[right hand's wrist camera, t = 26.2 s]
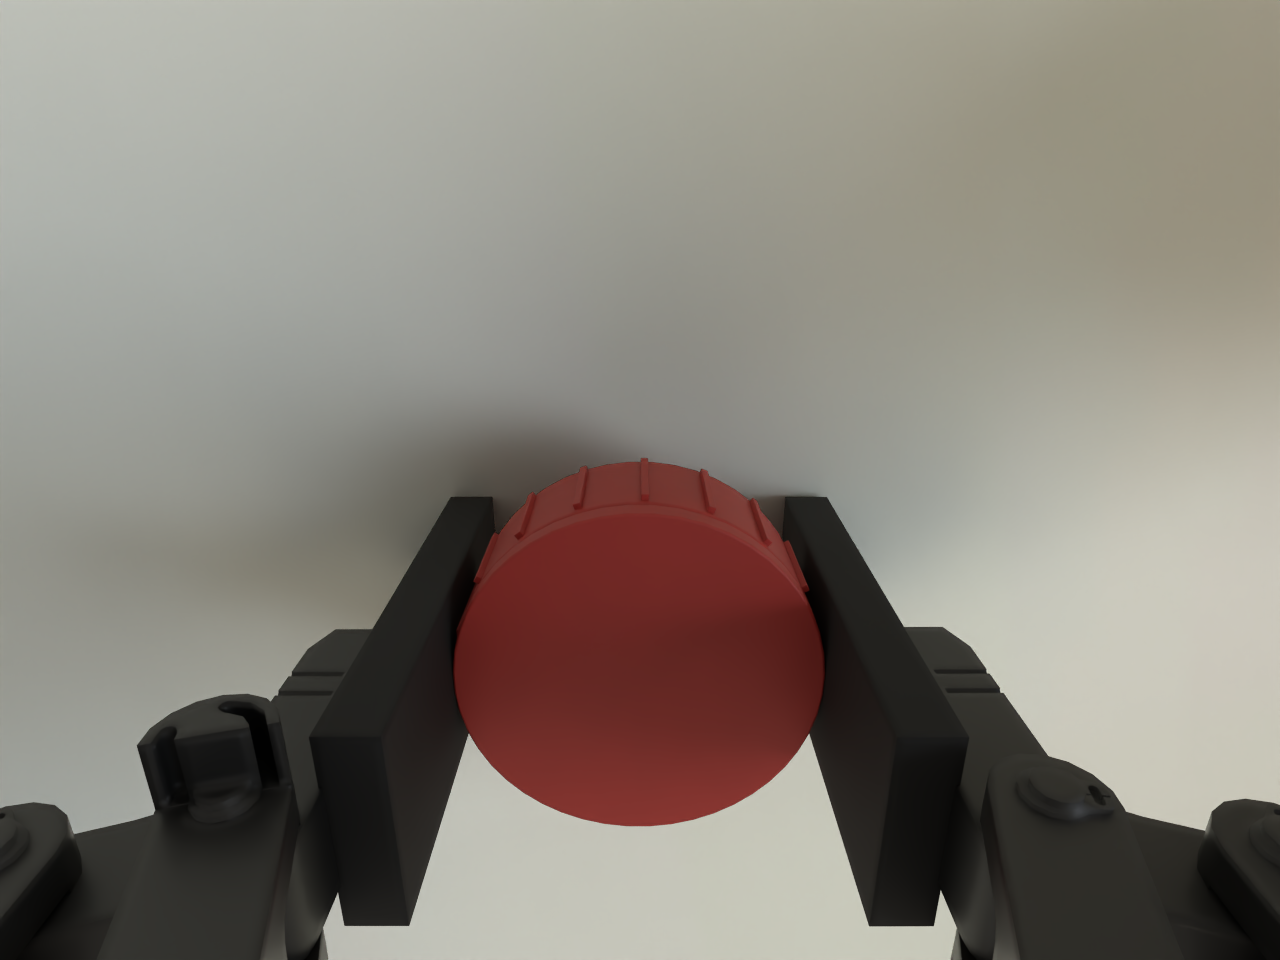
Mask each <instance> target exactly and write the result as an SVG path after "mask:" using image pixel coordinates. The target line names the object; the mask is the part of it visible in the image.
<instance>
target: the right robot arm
mask: <svg viewBox="0 0 1280 960" xmlns="http://www.w3.org/2000/svg"><path fill="white" fill-rule="evenodd" d="M494 533H495V527H494V514H493V501H492V497H451V498H450V500H449V501H448V503H447V505H446V506H445V508H444V510H443V511H442V513H441V515H440V516H439V518H438V520H437V522H436V523H435V525H434V527H433V528H432V530H431V532H430V533H429V535H428V537H427V538H426V540H425V542H424V543H423V545H422V547H421V548H420V550H419V552H418V554H417V555H416V557H415V559H414V560H413V562H412V564H411V565H410V567H409V569H408V570H407V572H406V574H405V575H404V577H403V579H402V581H401V582H400V584H399V586H398V587H397V589H396V591H395V592H394V594H393V596H392V597H391V599H390V601H389V602H388V604H387V606H386V607H385V609H384V611H383V613H382V614H381V616H380V618H379V619H378V621H377V623H376V624H375V626H374V628H373V629H336V630H334V631H333V632H331V633H330V634H329V635H327V636H326V637H324V638H323V639H322V640H320V641H319V642H317V643H316V644H314V645H313V646H312V647H310V648H309V649H308V650H307V651H306V653H305V654H304V655H303V657H302V658H301V660H300V661H299V663H298V664H297V665H296V667H295V668H294V670H293V671H292V676H289V677H288V678H287V680H286V681H285V682H284V684H283V685H282V687H281V688H280V689H279V694H278V696H275V697H274V698H273V699H272V701H271V702H270V701H269V700H268V699H267V698H263V697H259V696H254V695H250V694H235V695H222V696H218V697H214V698H210V699H206V700H202V701H198V702H195V703H193V704H191V705H189V706H186V707H184V708H182V709H180V710H177V711H175V712H173V713H171V714H170V715H168V716H167V717H165V718H164V719H163V720H161V721H160V722H158V723H157V724H156V725H154V726H153V727H152V728H150V729H149V731H148V732H147V733H146V734H145V736H144V737H143V738H142V740H141V741H140V742H139V744H138V745H137V748H138V751H139V755H140V758H141V762H142V765H143V769H144V772H145V776H146V779H147V782H148V786H149V789H150V793H151V796H152V800H153V803H154V807H155V813H154V815H151V816H148V817H144V818H141V819H138V820H134V821H130V822H125V823H121V824H117V825H112V826H108V827H104V828H99V829H95V830H91V831H86V832H82V833H78V834H73V831H72V828H71V825H70V822H69V820H68V817H67V815H66V814H65V813H64V812H62V811H61V810H60V809H59V808H58V807H56V806H55V805H49V804H42V803H34V802H33V803H26V804H20V805H13V806H6V807H3V808H0V960H328V954H327V948H326V941H325V936H324V931H323V926H324V924H325V921H326V919H327V917H328V914H329V912H330V910H331V907H332V905H333V903H334V900H335V898H336V895H337V893H338V894H339V899H340V905H341V910H342V915H343V920H344V926H409V925H410V921H411V918H412V915H413V912H414V908H415V905H416V902H417V899H418V895H419V892H420V889H421V886H422V882H423V879H424V876H425V873H426V869H427V866H428V863H429V860H430V857H431V853H432V850H433V847H434V844H435V840H436V837H437V834H438V831H439V827H440V824H441V821H442V818H443V814H444V811H445V808H446V805H447V801H448V798H449V795H450V792H451V789H452V785H453V782H454V779H455V776H456V772H457V769H458V766H459V763H460V759H461V756H462V753H463V750H464V746H465V743H466V740H467V737H468V733H469V732H468V730H467V728H466V725H465V723H464V721H463V718H462V716H461V713H460V710H459V707H458V703H457V699H456V695H455V689H454V678H453V660H454V649H455V644H456V640H457V627H458V625H459V622H460V620H461V618H462V615H463V613H464V610H465V608H466V605H467V603H468V600H469V598H470V595H471V593H472V590H473V588H474V586H475V582H474V579H475V576H476V574H477V571H478V569H479V566H480V564H481V562H482V559H483V557H484V554H485V552H486V549H487V547H488V544H489V542H490V540H491V537H492V535H493V534H494ZM782 540H783V542H785V541H789V542H790V544H791V547H792V549H793V551H794V554H795V556H796V559H797V561H798V563H799V566H800V568H801V571H802V573H803V576H804V578H805V580H806V583H807V585H808V588H809V591H807V592H805V594H806V597H807V599H808V602H809V604H810V607H811V609H812V612H813V615H814V617H815V620H816V623H817V625H818V628H819V631H820V634H821V639H822V644H823V649H824V657H825V680H824V689H823V695H822V699H821V703H820V706H819V710H818V714H817V716H816V719H815V721H814V723H813V725H812V728H811V730H810V732H809V734H810V737H811V740H812V743H813V747H814V750H815V753H816V756H817V760H818V763H819V766H820V769H821V772H822V776H823V779H824V782H825V785H826V789H827V792H828V795H829V798H830V801H831V805H832V808H833V811H834V814H835V818H836V821H837V824H838V827H839V830H840V834H841V837H842V840H843V843H844V847H845V850H846V853H847V856H848V859H849V863H850V866H851V869H852V872H853V876H854V879H855V882H856V885H857V889H858V892H859V895H860V898H861V901H862V905H863V908H864V911H865V914H866V918H867V921H868V924H869V926H934V922H935V917H936V911H937V906H938V901H939V896H940V890H941V891H942V894H943V896H944V898H945V901H946V903H947V905H948V908H949V910H950V912H951V915H952V917H953V919H954V922H955V924H956V926H957V931H956V936H955V941H954V946H953V950H952V955H951V960H1280V805H1278V804H1275V803H1270V802H1264V801H1257V800H1250V799H1240V800H1233V801H1226V802H1223V803H1222V804H1221V805H1219V806H1218V807H1217V808H1216V809H1215V810H1213V811H1212V813H1211V816H1210V819H1209V822H1208V825H1207V827H1206V830H1205V831H1203V830H1199V829H1194V828H1190V827H1185V826H1181V825H1177V824H1172V823H1168V822H1163V821H1159V820H1155V819H1150V818H1146V817H1142V816H1139V815H1135V814H1132V813H1128V812H1126V811H1125V809H1124V807H1123V806H1122V804H1121V803H1120V801H1119V800H1118V798H1117V797H1116V795H1115V794H1114V792H1113V791H1112V790H1111V789H1110V788H1108V787H1107V786H1106V785H1105V784H1104V783H1102V782H1101V781H1100V780H1099V779H1098V778H1096V777H1095V776H1094V775H1093V774H1091V773H1089V772H1087V771H1085V770H1083V769H1081V768H1079V767H1077V766H1075V765H1073V764H1071V763H1069V762H1066V761H1063V760H1059V759H1056V758H1052V757H1049V756H1048V755H1047V754H1046V752H1045V751H1044V749H1043V748H1042V747H1041V745H1040V744H1039V742H1038V741H1037V740H1036V738H1035V737H1034V735H1033V734H1032V733H1031V731H1030V730H1029V728H1028V727H1027V726H1026V724H1025V723H1024V721H1023V720H1022V719H1021V717H1020V716H1019V714H1018V713H1017V712H1016V710H1015V709H1014V707H1013V706H1012V705H1011V703H1010V702H1009V700H1008V699H1007V698H1006V696H1005V695H1004V693H1000V688H999V686H998V685H997V683H996V682H995V681H994V679H993V678H992V676H991V675H990V674H987V672H986V668H985V667H984V665H983V664H982V662H981V661H980V660H979V658H978V657H977V655H976V654H975V653H974V651H973V650H972V648H971V647H970V646H969V645H967V644H966V643H964V642H963V641H962V640H960V639H959V638H957V637H956V636H954V635H953V634H952V633H950V632H949V631H947V630H946V629H945V628H943V627H904V626H903V625H902V623H901V621H900V620H899V618H898V616H897V615H896V613H895V611H894V610H893V608H892V606H891V605H890V603H889V601H888V599H887V598H886V596H885V594H884V593H883V591H882V589H881V588H880V586H879V584H878V583H877V581H876V579H875V578H874V576H873V574H872V573H871V571H870V569H869V568H868V566H867V564H866V562H865V561H864V559H863V557H862V556H861V554H860V552H859V551H858V549H857V547H856V546H855V544H854V542H853V541H852V539H851V537H850V536H849V534H848V532H847V531H846V529H845V527H844V525H843V524H842V522H841V520H840V519H839V517H838V515H837V514H836V512H835V510H834V509H833V507H832V505H831V504H830V502H829V500H828V499H827V497H785V510H784V524H783V537H782Z"/></svg>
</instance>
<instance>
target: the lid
mask: <svg viewBox="0 0 1280 960" xmlns="http://www.w3.org/2000/svg"><path fill="white" fill-rule="evenodd" d="M474 582H475V586H474V588H473V590H472V593H471V595H470V598H469V600H468V603H467V605H466V608H465V610H464V613H463V615H462V618H461V620H460V622H459V625H458V627H457V640H456V644H455V649H454V660H453V678H454V689H455V695H456V699H457V703H458V707H459V710H460V713H461V716H462V718H463V721H464V723H465V725H466V728H467V730H468V732H469V734H470V736H471V737H472V739H473V741H474V742H475V744H476V746H477V747H478V749H479V750H480V752H481V753H482V754H483V755H484V757H485V758H486V759H487V760H488V762H489V763H490V764H491V765H492V766H493V767H494V768H495V769H496V770H497V771H498V772H499V773H500V774H501V775H502V776H503V777H504V778H505V779H506V780H507V781H509V782H510V783H511V784H513V785H514V786H515V787H517V788H518V789H519V790H521V791H522V792H523V793H525V794H527V795H528V796H530V797H532V798H533V799H535V800H537V801H539V802H540V803H542V804H544V805H546V806H549V807H551V808H553V809H555V810H558V811H560V812H562V813H565V814H568V815H572V816H575V817H578V818H581V819H584V820H589V821H594V822H599V823H603V824H612V825H621V826H656V825H667V824H674V823H679V822H684V821H689V820H694V819H697V818H700V817H703V816H706V815H710V814H713V813H715V812H718V811H720V810H722V809H725V808H727V807H729V806H732V805H734V804H736V803H737V802H739V801H741V800H743V799H744V798H746V797H748V796H750V795H751V794H753V793H754V792H756V791H757V790H758V789H760V788H761V787H763V786H764V785H765V784H767V783H768V782H769V781H771V780H772V779H773V778H774V777H775V776H776V775H777V774H778V773H779V772H780V771H781V770H782V769H783V768H784V767H785V766H786V765H787V764H788V763H789V761H790V760H791V759H792V758H793V757H794V755H795V754H796V753H797V752H798V750H799V749H800V747H801V745H802V744H803V742H804V741H805V739H806V737H807V736H808V734H809V732H810V730H811V728H812V725H813V723H814V721H815V719H816V716H817V714H818V710H819V706H820V703H821V699H822V695H823V689H824V680H825V657H824V649H823V644H822V639H821V634H820V631H819V628H818V625H817V623H816V620H815V617H814V615H813V612H812V609H811V607H810V604H809V602H808V599H807V597H806V594H805V592H807V591H809V588H808V585H807V583H806V580H805V578H804V576H803V573H802V571H801V568H800V566H799V563H798V561H797V559H796V556H795V554H794V551H793V549H792V547H791V544H790V542H789V541H785V542H783V540H782V539H781V537H780V535H779V533H778V532H777V530H776V529H775V528H774V526H773V525H772V524H771V522H770V521H769V520H768V518H767V517H766V516H765V515H764V514H763V513H762V512H761V510H760V507H759V505H758V502H757V501H756V500H755V499H754V498H752V499H751V500H750V501H749V500H748V499H747V498H745V497H744V496H743V495H741V494H740V493H739V492H737V491H736V490H735V489H733V488H731V487H730V486H728V485H726V484H724V483H722V482H721V481H719V480H717V479H715V478H713V477H710V476H709V475H708V471H706V470H704V469H701V471H700V472H698V471H695V470H691V469H687V468H683V467H679V466H676V465H670V464H662V463H654V462H648V458H641V462H625V463H616V464H607V465H603V466H599V467H595V468H591V469H588V468H587V466H583V467H580V471H579V472H578V473H576V474H573V475H570V476H568V477H565V478H563V479H561V480H560V481H558V482H556V483H554V484H552V485H550V486H548V487H547V488H545V489H544V490H542V491H541V492H539V493H538V494H537V495H535V493H534V492H532V493H531V494H529V495H528V497H527V500H526V503H525V504H524V505H523V506H522V507H521V508H520V509H519V510H518V511H517V512H516V513H515V514H514V515H513V516H512V517H511V519H510V520H509V521H508V523H507V524H506V525H505V526H504V528H503V529H502V530H501V532H500V534H497V533H494V534H493V535H492V537H491V540H490V542H489V544H488V547H487V549H486V552H485V554H484V557H483V559H482V562H481V564H480V566H479V569H478V571H477V574H476V576H475V579H474Z"/></svg>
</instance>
